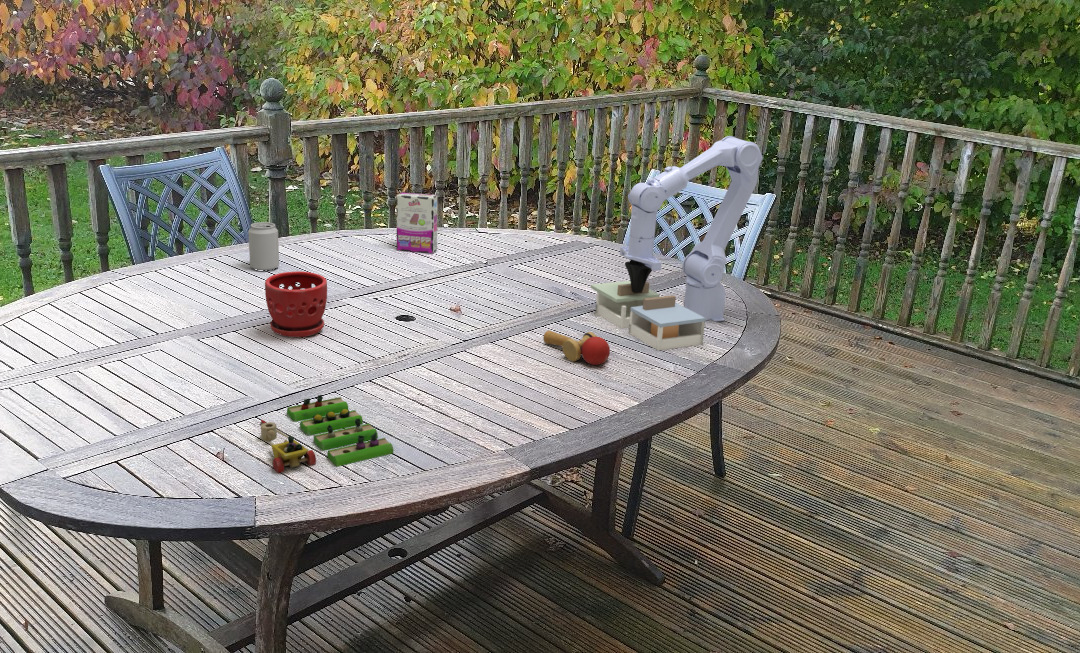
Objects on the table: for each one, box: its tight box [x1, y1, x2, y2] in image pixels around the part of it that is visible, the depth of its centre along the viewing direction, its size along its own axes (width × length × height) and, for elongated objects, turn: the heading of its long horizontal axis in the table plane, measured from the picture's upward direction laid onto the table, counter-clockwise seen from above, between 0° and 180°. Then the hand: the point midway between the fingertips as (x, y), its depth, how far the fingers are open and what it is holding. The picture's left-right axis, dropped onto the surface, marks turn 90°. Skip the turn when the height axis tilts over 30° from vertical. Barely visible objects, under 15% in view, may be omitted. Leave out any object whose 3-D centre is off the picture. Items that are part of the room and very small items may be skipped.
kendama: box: [543, 330, 611, 366], centre depth 208 cm, size 8×6×18 cm
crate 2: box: [628, 311, 706, 351], centre depth 219 cm, size 12×12×6 cm
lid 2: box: [631, 294, 706, 327], centre depth 218 cm, size 12×12×3 cm
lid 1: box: [590, 280, 661, 303], centre depth 233 cm, size 12×12×3 cm
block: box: [650, 322, 679, 339], centre depth 217 cm, size 4×4×4 cm
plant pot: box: [264, 270, 328, 338], centre depth 212 cm, size 13×13×12 cm
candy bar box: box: [395, 192, 439, 254], centre depth 281 cm, size 11×5×16 cm, turn 81°
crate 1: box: [594, 291, 643, 329], centre depth 232 cm, size 12×12×6 cm
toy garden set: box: [260, 394, 394, 474], centre depth 165 cm, size 23×19×5 cm
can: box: [247, 221, 280, 271], centre depth 256 cm, size 8×8×12 cm
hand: (637, 292), depth 228 cm, fingers closed
